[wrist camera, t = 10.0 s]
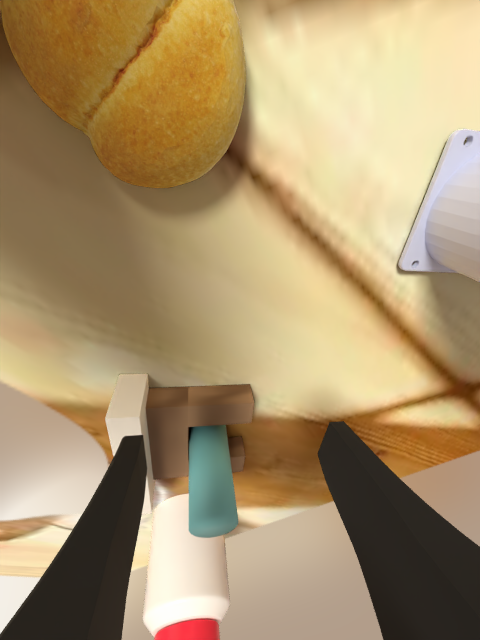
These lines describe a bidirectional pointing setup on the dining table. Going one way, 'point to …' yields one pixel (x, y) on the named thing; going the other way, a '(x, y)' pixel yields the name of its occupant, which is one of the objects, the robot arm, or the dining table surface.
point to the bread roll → (137, 78)
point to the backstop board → (131, 422)
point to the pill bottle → (184, 577)
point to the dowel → (210, 483)
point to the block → (193, 423)
